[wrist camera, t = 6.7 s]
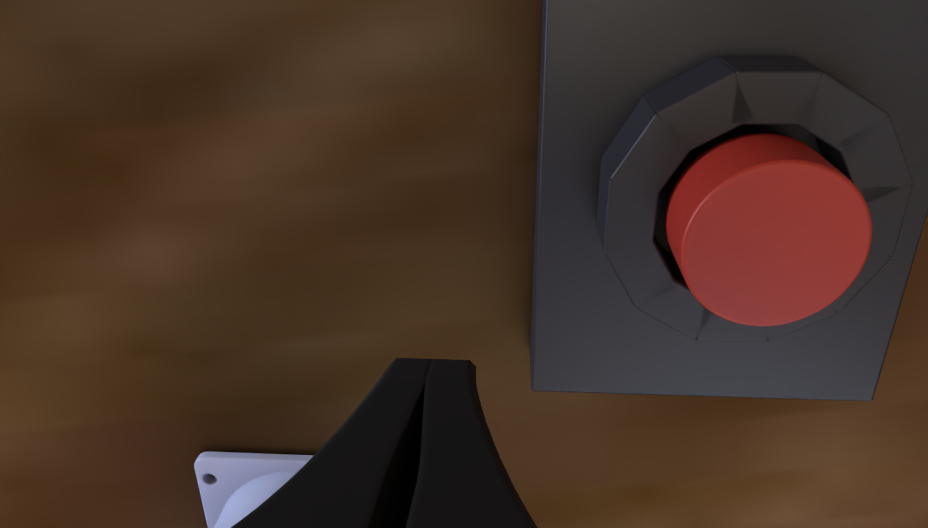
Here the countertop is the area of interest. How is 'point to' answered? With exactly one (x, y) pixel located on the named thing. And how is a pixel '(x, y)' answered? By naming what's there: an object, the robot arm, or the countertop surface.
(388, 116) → the countertop surface
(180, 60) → the countertop surface
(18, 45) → the countertop surface
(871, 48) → the control block
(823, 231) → the red push button
